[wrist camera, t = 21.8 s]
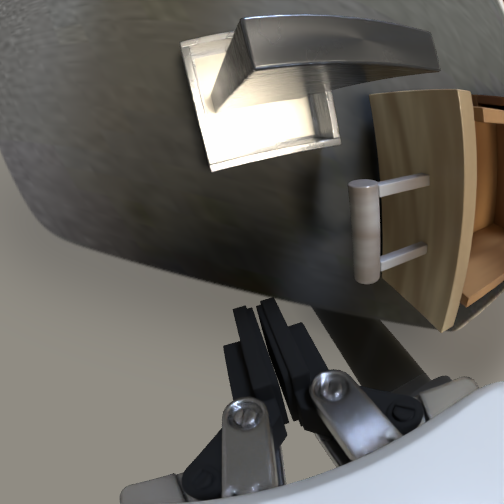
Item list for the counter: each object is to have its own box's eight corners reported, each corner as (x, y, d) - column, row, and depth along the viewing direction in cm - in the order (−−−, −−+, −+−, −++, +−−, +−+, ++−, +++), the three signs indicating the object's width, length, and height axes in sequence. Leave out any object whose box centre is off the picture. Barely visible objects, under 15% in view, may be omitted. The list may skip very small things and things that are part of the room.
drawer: (325, 298, 19) (376, 368, 13) (296, 100, 14) (372, 82, 7) (487, 231, 21) (536, 259, 15) (488, 102, 15) (548, 112, 9)
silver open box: (322, 142, 16) (471, 173, 6) (209, 167, 15) (235, 232, 5) (298, 37, 13) (421, -39, 3) (181, 55, 12) (164, -65, 2)
